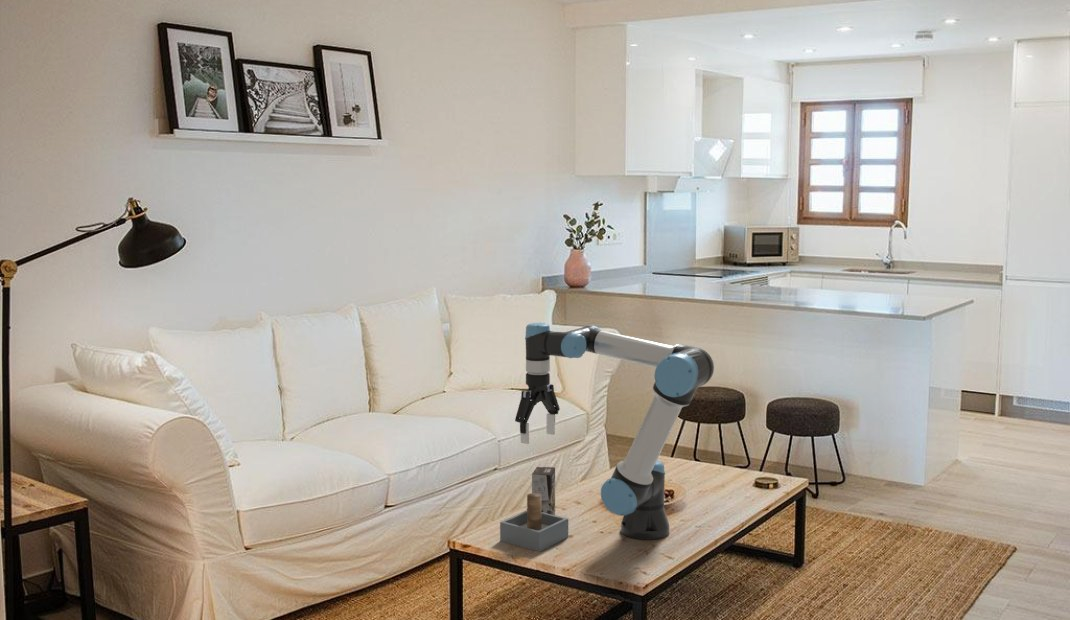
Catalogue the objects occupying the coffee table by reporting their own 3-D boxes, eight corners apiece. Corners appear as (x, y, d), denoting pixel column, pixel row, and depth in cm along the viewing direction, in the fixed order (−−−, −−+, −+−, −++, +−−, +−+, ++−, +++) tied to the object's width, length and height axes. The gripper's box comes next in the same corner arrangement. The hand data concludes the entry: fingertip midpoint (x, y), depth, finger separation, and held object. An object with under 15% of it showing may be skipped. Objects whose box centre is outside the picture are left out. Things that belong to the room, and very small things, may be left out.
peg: (544, 538, 312) (544, 494, 310) (535, 542, 308) (535, 498, 306) (533, 535, 314) (532, 492, 312) (524, 539, 311) (524, 495, 309)
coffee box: (550, 523, 325) (550, 475, 323) (531, 522, 326) (531, 473, 324) (555, 514, 334) (555, 466, 331) (536, 512, 335) (536, 465, 333)
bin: (568, 537, 313) (568, 518, 312) (539, 551, 301) (539, 532, 300) (529, 527, 321) (529, 509, 321) (500, 540, 310) (500, 522, 309)
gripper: (551, 365, 328) (551, 428, 331) (503, 377, 308) (503, 445, 311) (570, 367, 323) (570, 432, 326) (522, 380, 304) (523, 449, 307)
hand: (537, 438), depth 319 cm, fingers open, 13 cm apart
